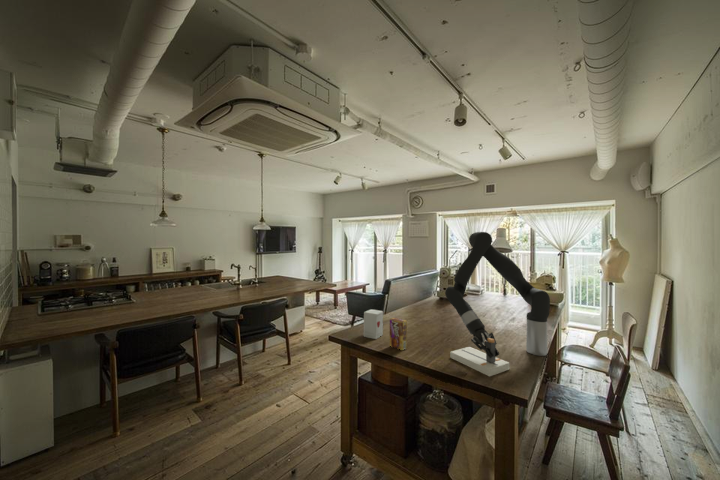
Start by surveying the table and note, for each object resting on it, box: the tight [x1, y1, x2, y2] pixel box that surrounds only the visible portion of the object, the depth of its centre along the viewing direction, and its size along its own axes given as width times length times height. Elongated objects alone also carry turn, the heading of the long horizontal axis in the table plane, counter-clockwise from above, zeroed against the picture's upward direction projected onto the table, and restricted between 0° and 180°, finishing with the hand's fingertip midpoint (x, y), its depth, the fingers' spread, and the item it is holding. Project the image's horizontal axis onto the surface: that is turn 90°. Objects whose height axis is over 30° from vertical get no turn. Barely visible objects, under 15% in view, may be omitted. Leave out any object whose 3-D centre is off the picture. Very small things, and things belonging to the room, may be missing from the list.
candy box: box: [388, 317, 408, 351], centre depth 153 cm, size 9×4×15 cm, turn 47°
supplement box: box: [363, 308, 384, 340], centre depth 171 cm, size 9×9×15 cm
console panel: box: [449, 346, 511, 377], centre depth 134 cm, size 14×22×3 cm, turn 29°
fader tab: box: [485, 338, 497, 363], centre depth 128 cm, size 3×3×10 cm
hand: (494, 356), depth 127 cm, fingers closed on fader tab, 3 cm apart
